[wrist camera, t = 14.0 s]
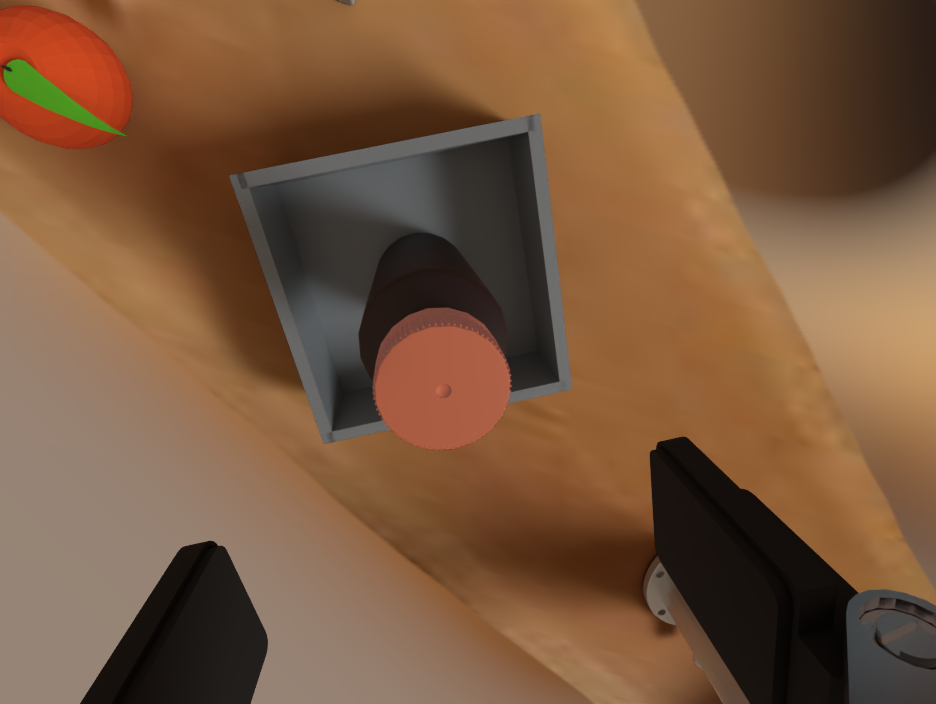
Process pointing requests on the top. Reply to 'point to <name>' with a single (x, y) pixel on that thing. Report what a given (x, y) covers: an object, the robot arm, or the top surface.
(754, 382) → the top surface
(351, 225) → the tote
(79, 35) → the clementine
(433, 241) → the vinegar
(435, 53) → the top surface
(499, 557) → the top surface
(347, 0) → the coffee box
